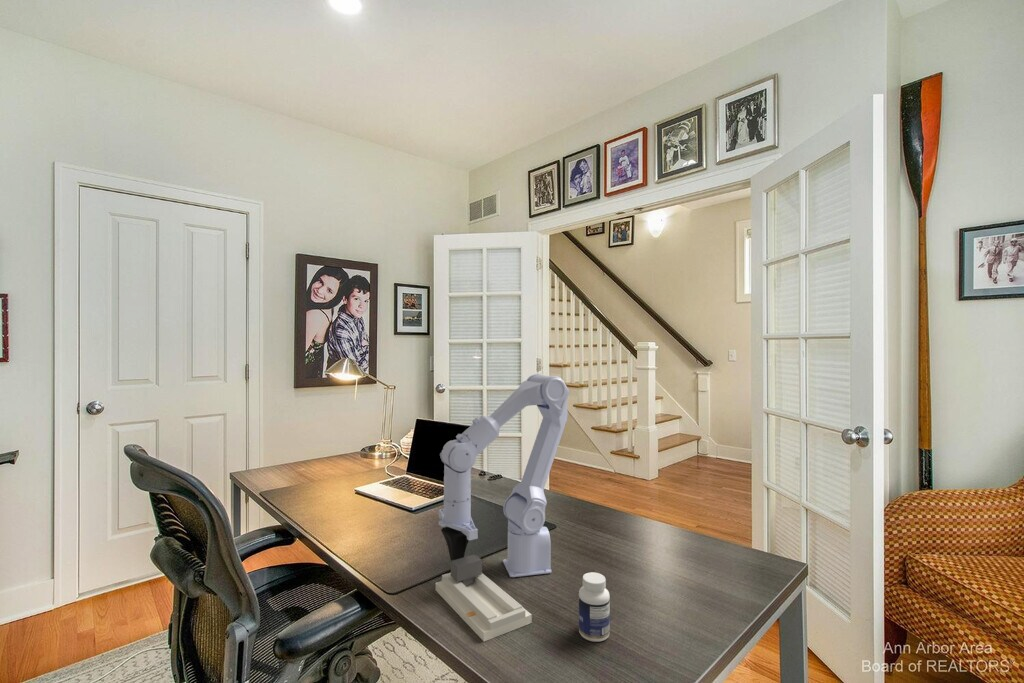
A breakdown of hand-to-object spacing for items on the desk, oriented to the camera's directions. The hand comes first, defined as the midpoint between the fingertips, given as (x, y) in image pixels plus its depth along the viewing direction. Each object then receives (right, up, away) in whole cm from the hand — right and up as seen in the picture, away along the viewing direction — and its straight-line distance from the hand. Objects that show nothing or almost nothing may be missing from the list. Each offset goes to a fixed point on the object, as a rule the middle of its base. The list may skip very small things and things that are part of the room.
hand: (456, 562), depth 99 cm
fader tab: (+2, -3, -4) cm, 5 cm away
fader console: (+6, -4, -9) cm, 11 cm away
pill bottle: (+26, -5, -17) cm, 32 cm away
